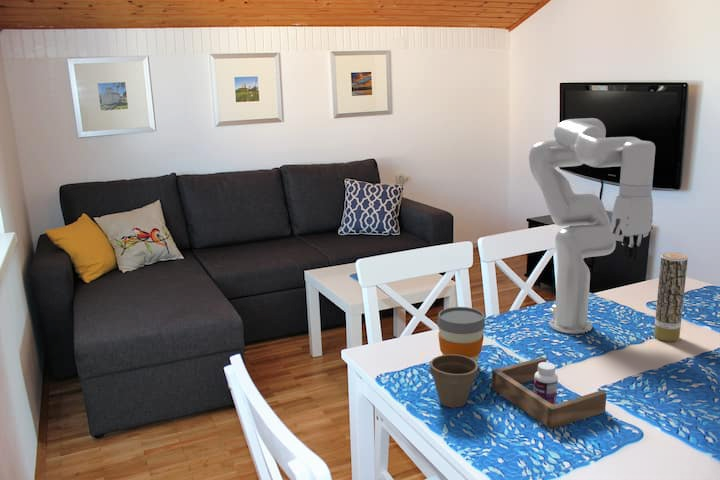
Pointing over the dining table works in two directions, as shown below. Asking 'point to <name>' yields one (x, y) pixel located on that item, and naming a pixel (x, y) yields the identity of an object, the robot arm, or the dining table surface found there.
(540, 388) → the pill bottle
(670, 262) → the brown upright cylinder piece
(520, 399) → the box
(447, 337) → the reusable coffee cup
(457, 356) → the flower pot
